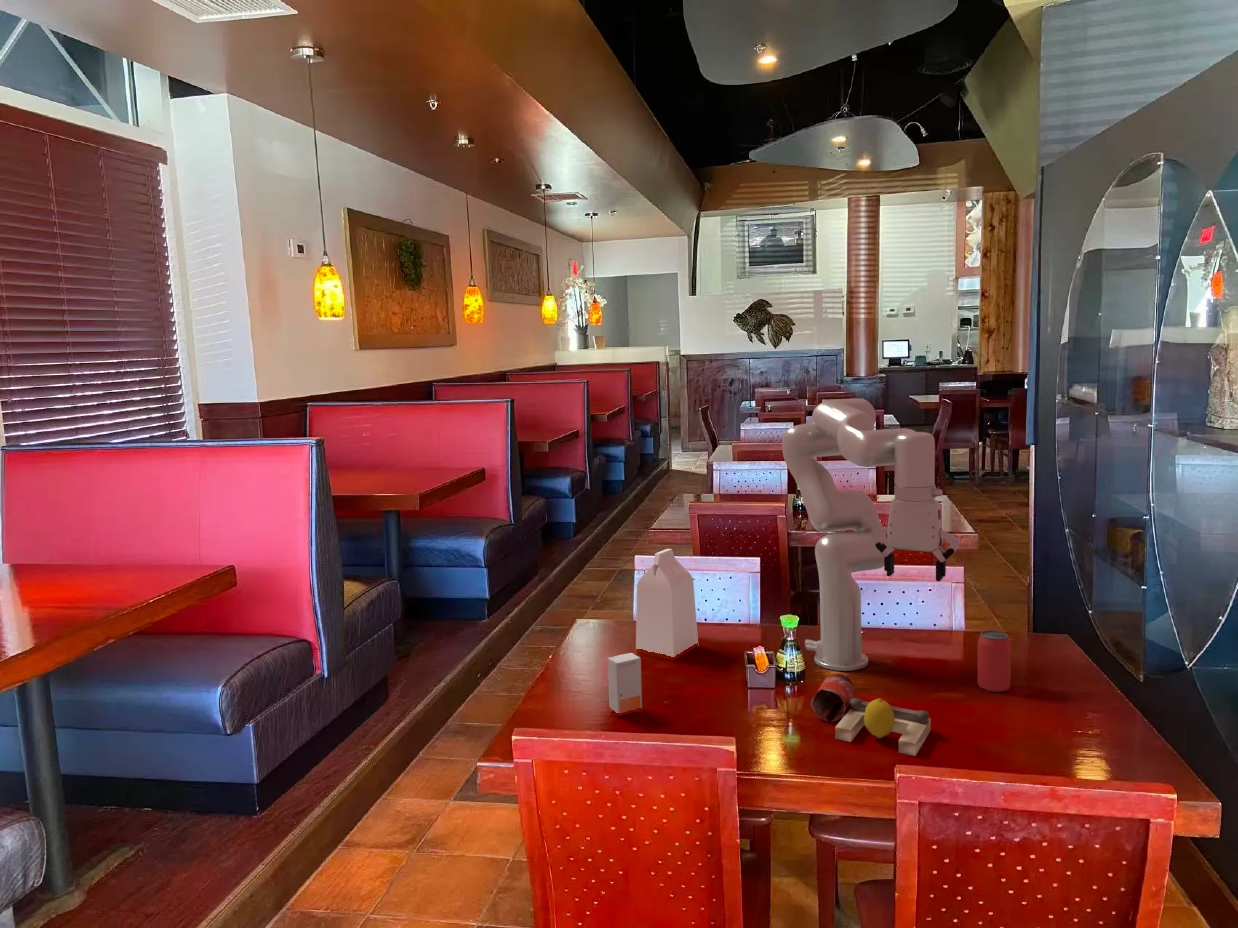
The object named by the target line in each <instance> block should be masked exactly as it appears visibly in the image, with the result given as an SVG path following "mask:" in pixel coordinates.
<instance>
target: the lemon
mask: <svg viewBox="0 0 1238 928" xmlns="http://www.w3.org/2000/svg"><path fill="white" fill-rule="evenodd" d="M869 702H870V703H869V704H868V705H867V707H866V710H865V715H864V721H865V725H866V726H865V727H866V728H865V729H866V730H867V731H868V732H869V733H870V734H872V736H875V737H876V738H877V739H882V738H883V737H886V736H888V735H890V733H892V732H891V731H892V729H893V727H894V713H893V710H892V708H891V706H892V705H890V704H889V703H888V702H887V701H886V700H883V699H882V698H876V699H873V700H872V701H869Z"/></svg>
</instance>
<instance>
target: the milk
mask: <svg viewBox="0 0 1238 928" xmlns="http://www.w3.org/2000/svg"><path fill="white" fill-rule="evenodd" d="M675 556H676V555H675V554H674V551H673V549H672V548H666V549H663V550H661V551H658V552H656V553H655V554H654V559H653V565H652V566H651V567H649V569H647V571H646V572H644V574H642V576H641V577H640V578H639V579H638V581H637V584H636V617H635V618H636V619H635V622H636V623H635V631H636V632H635V650H636V649H643V650H646V651H648V652H655V653H658V654H659V653H660V654H665V655H667V656H671V657H675V656H676V655H677V654H680V653H681V652H683V651H684V650H686V649H688V648H689V647H691V646H693V645H694V644H697V643H698V644H699V635H698V624H697V623H698V621H697V610H696V609H697V608H696V597H695V586H694V584H695V583H694V578H693V576H692V574H691V573H690V572H689V571H688V570H687V569H686V568H685V567H684V565H682V563H680V562H679V561H678V559H676V557H675Z"/></svg>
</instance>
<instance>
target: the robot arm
mask: <svg viewBox="0 0 1238 928" xmlns="http://www.w3.org/2000/svg"><path fill="white" fill-rule="evenodd" d="M876 417H877V415H876V411H875V408H874V406H873V405H872V403H870V402H869V400H866V399H864V398H855V397H854V398H841V399H838V398H837V399H829V400H825V401H822V402H821V403H819V404H818V405H817V406H816V407H815V408H814V409H813V412H812V415H811V419H812V420H811V421H812V422H810V423H802V424H797V425H794V426H791V427H790V428H788V429H787V430H786V431H785V432H784V434H783V436H782V440H781V441H782V442H781V443H782V446H781V448H782V456H783V459H784V462H785V465H786V467H787V469H788V470H789V472H790V474H791V476H792V477H793V478H794V480H795V483H796V484H797V486H798V489H799V491H800V492H799V493H800V495H801V498H802V501H803V504H804V507H805V511H806V513H807V516H808V519H809V522H810V523H811V525H812V527H813V528H814V529H815V530H816V531H818V532H821V533H828V532H829V534H826V535H824V536H822V537H820V538H819V539H818V540H817V542H816V544H815V547H814V555H815V560H816V565H817V566H816V567H817V571H818V580H819V599H820V600H819V609H820V610H819V611H820V613H819V614H820V616H819V617H820V639H818V640H817V641H816V640H813V639H805V640H804V647H805V649H806V651H813V652H815V654H814V656H813V658H814V659H813V661H814V662H815V664H816V665H818V666H819V667H821V668H824V669H827V670H832V671H838V672H840V671H842V672H847V671H849V672H851V671H858V670H862V669H864V668H865V667H867V666H868V665H869V657H868V656H867V655H866V654H864V653H862V592H861V588H860V586H859V584H858V583H857V581H856V580H855V578H853V576H852V573H858V572H865V571H872V570H878V569H882V568H883V570H884V572H886V576H887V577H892V575H894V573H895V555H894V554H893V552H894V550H903V551H914V552H915V551H916V552H917V551H918V552H927V553H932V554H933V555H934V556H935V557H936V558H937V560H936V561H935V581H936V582H941V581H942V580H943V578H944V577H946V575H947V573H946V572H947V567H946V566H947V565H946V563H947V561H946V560H948V559H949V558H950V557H951V556H953V554H955V552H956V551H957V549H958V548H959V546H960V545H961V539H960V538H958V537H956V536H955V535H953V534H951V533H949V532H947V531H945V530H943V517H942V508H941V504H940V501H939V500H938V499H936V498H937V497H942V496H943V490H942V489H939V488H937V487H936V486H937V485H936V484H935V482H936V479H935V476H936V475H935V474H936V473H935V472H936V471H935V468H936V467H935V465H936V462H935V461H936V451H935V449H936V443H935V441H936V439H935V436H933V434H932V433H929V432H926V431H925V432H924V431H915V430H914V429H911V428H904V427H903V428H885V429H883V428H882V429H875V425H876ZM833 456H842V457H843V458H844V459H845V460H847V461H849V462H850V463H853V464H855V465H857V466H859V467H865V468H874V467H882V466H883V467H884V466H894V498H893V499H892V500H891V502H890V507H889V512H888V513H889V515H888V520H887V521H888V523H887V526H886V527H884V528H883V525H882V522H881V520H880V516H879V514H878V511H877V509H876V506H875V504H874V502H873V500H872V499H871V497H870V496H869V495H868V494H866V493H865V492H863V491H860V490H846V491H841V490H839V489H838V488H837V487H836V484H835V482H834V479H833V476H832V474H831V473H830V472H829V470H828V469H827V468H826V467H825V466H824V465H823V464H821V463H820V462H818V461H817V460H816V459H815V458H819V457H820V458H821V457H823V458H824V457H833ZM851 530H852V531H851ZM841 531H842V532H841ZM843 531H844V532H843ZM830 532H831V533H830ZM832 532H835V533H832ZM944 540H945V541H946V542H948V543H950V545H949V548H948V549H946V550H944V549H943V548H942V546H943V545H944Z"/></svg>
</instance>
